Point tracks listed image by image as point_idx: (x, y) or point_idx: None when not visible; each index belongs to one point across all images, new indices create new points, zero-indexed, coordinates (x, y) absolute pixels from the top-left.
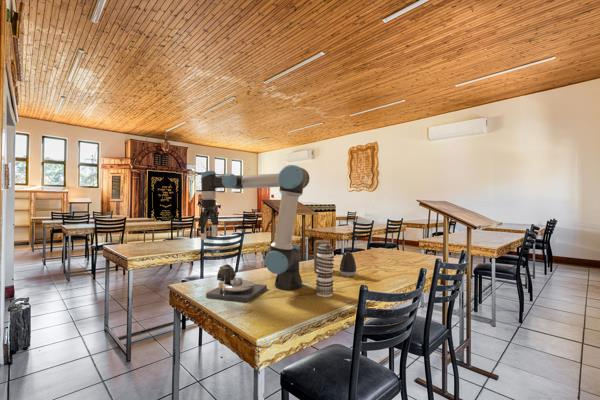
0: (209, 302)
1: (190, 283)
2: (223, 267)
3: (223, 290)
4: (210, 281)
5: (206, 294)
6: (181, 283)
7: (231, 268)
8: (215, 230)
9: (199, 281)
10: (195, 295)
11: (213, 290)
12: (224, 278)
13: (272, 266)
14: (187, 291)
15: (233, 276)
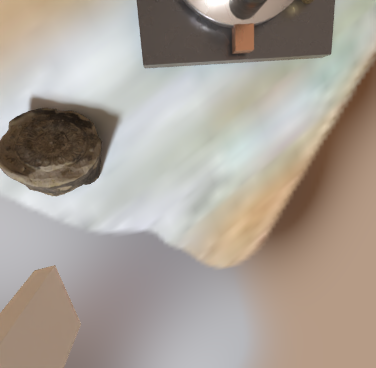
0: (368, 4)
1: (193, 233)
2: (53, 170)
3: None
4: (137, 182)
5: (328, 53)
6: (206, 261)
7: (9, 146)
8: (3, 365)
9: (157, 222)
10: (311, 112)
11: (292, 47)
12: (265, 2)
13: None
14: (280, 172)
15: (47, 114)
